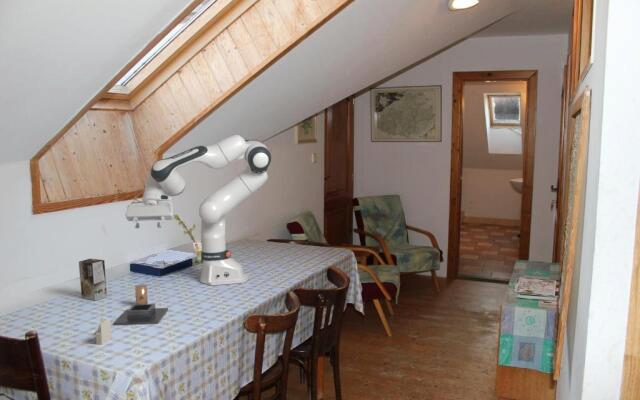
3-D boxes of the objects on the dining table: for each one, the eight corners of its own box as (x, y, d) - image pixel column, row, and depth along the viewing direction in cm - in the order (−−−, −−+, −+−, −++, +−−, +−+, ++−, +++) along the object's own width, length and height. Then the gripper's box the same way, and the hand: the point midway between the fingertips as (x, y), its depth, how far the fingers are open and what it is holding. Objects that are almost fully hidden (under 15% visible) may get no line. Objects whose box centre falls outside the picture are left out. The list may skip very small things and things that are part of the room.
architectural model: (92, 345, 185) (90, 323, 184) (104, 337, 192) (103, 316, 191) (101, 346, 184) (100, 324, 183) (113, 338, 191) (112, 317, 190)
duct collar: (168, 309, 219) (167, 300, 219) (158, 323, 203) (157, 313, 203) (126, 311, 219) (126, 301, 218) (113, 325, 203) (112, 315, 203)
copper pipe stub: (149, 303, 228) (147, 284, 227) (146, 307, 224) (145, 287, 223) (138, 304, 228) (137, 284, 227) (135, 307, 224) (133, 287, 223)
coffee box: (107, 297, 239) (105, 259, 238) (95, 301, 234) (92, 263, 232) (93, 294, 244) (91, 257, 242) (80, 298, 239) (78, 261, 237)
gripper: (126, 197, 243) (121, 223, 235) (174, 196, 244) (170, 222, 236) (130, 206, 248) (125, 232, 240) (177, 205, 249) (173, 230, 241)
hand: (148, 227), depth 238 cm, fingers open, 8 cm apart
